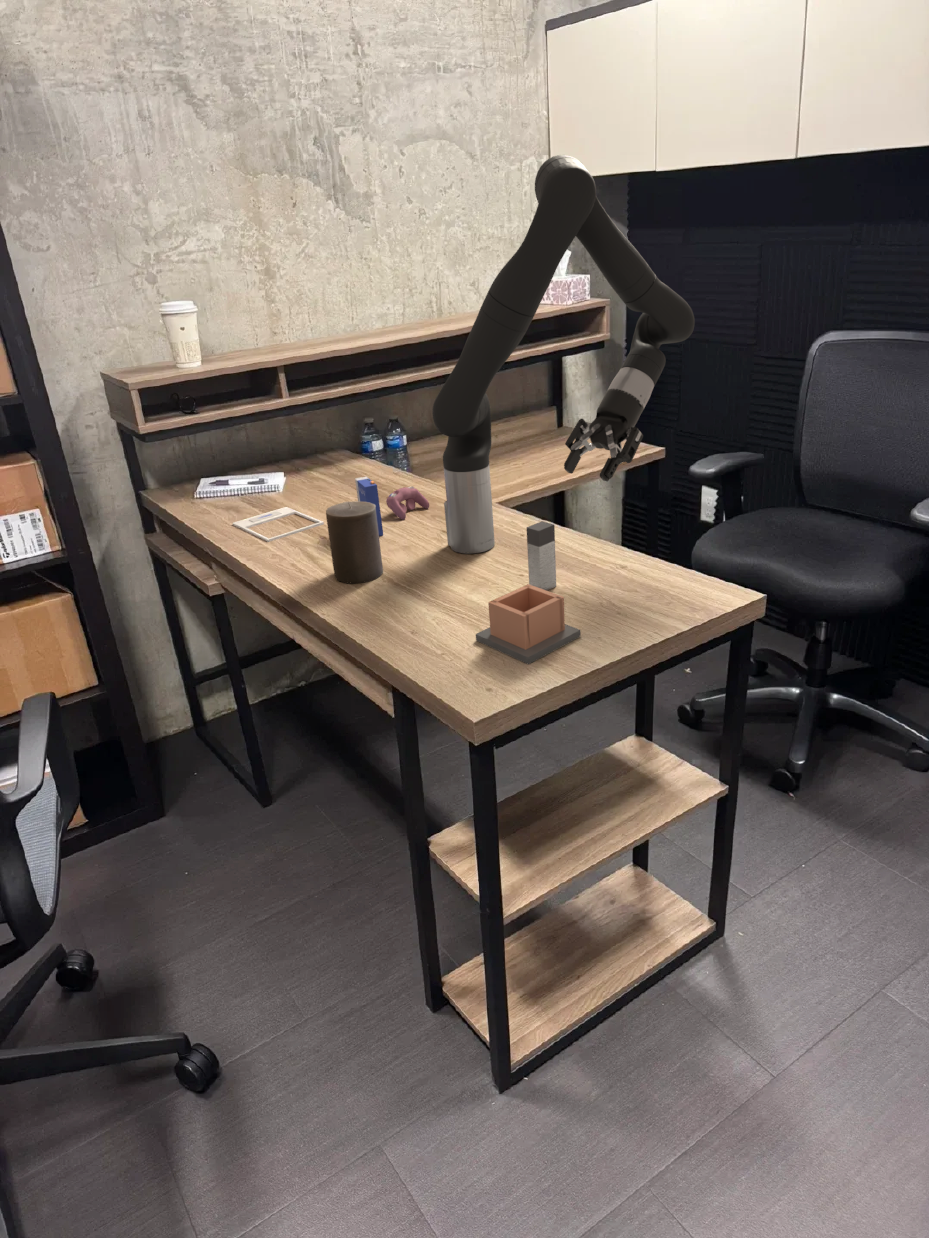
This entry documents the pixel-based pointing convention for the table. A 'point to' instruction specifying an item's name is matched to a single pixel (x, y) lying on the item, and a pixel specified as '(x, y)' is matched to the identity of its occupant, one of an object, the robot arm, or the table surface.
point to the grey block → (541, 555)
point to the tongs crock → (527, 624)
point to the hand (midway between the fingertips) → (585, 475)
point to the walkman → (369, 497)
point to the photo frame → (270, 517)
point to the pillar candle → (354, 542)
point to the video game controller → (410, 496)
